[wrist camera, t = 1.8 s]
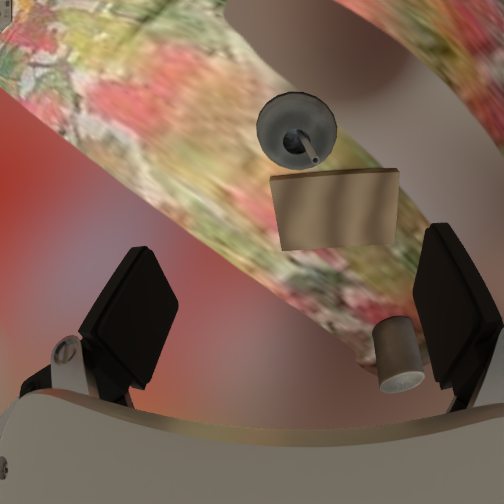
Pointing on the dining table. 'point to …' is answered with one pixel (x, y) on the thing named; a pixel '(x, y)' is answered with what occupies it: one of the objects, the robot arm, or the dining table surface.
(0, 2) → the tea box
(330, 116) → the beverage cup
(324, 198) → the walnut board
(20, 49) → the dining table surface
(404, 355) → the pillar candle
